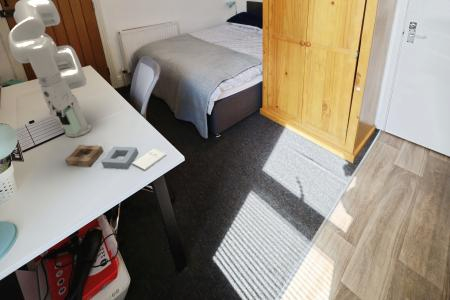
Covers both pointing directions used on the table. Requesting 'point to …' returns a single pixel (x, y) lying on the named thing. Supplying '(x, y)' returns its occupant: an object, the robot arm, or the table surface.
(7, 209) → the table surface
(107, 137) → the table surface
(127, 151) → the socket
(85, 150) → the socket
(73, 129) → the plug
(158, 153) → the external hard drive
